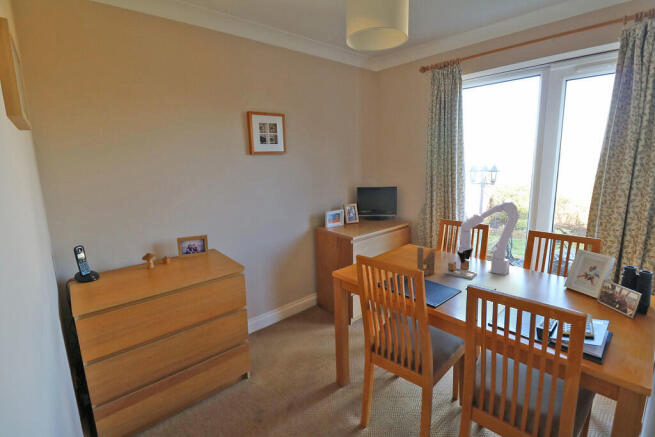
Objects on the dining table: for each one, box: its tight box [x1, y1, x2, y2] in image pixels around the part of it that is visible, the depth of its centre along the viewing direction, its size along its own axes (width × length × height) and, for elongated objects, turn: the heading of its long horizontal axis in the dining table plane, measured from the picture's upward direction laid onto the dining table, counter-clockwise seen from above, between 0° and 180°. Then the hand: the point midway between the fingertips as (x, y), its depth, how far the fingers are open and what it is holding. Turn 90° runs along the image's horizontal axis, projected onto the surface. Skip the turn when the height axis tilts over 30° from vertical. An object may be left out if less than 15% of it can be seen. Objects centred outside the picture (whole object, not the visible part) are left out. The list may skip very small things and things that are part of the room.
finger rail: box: [446, 260, 478, 280], centre depth 186 cm, size 15×8×6 cm, turn 45°
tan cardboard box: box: [459, 259, 470, 271], centre depth 194 cm, size 3×4×6 cm
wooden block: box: [416, 246, 436, 277], centre depth 188 cm, size 4×11×18 cm, turn 106°
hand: (464, 260), depth 194 cm, fingers open, 7 cm apart
